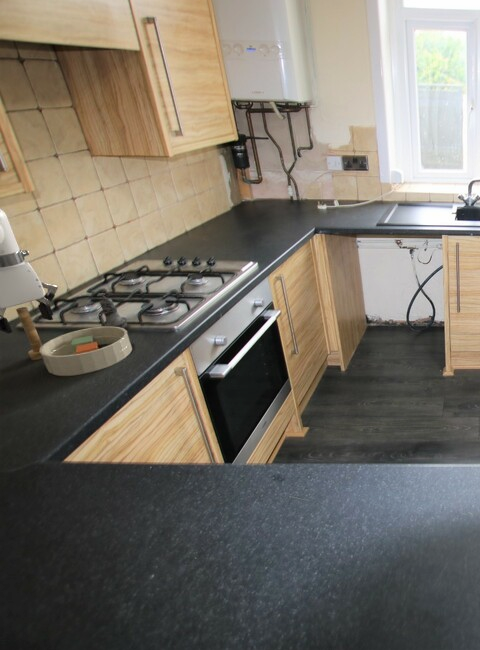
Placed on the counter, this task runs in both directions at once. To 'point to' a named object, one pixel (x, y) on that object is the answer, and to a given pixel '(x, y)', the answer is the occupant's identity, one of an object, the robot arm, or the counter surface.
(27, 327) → the muddler
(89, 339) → the block green
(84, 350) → the block orange
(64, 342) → the bowl
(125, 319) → the dark grey figurine
